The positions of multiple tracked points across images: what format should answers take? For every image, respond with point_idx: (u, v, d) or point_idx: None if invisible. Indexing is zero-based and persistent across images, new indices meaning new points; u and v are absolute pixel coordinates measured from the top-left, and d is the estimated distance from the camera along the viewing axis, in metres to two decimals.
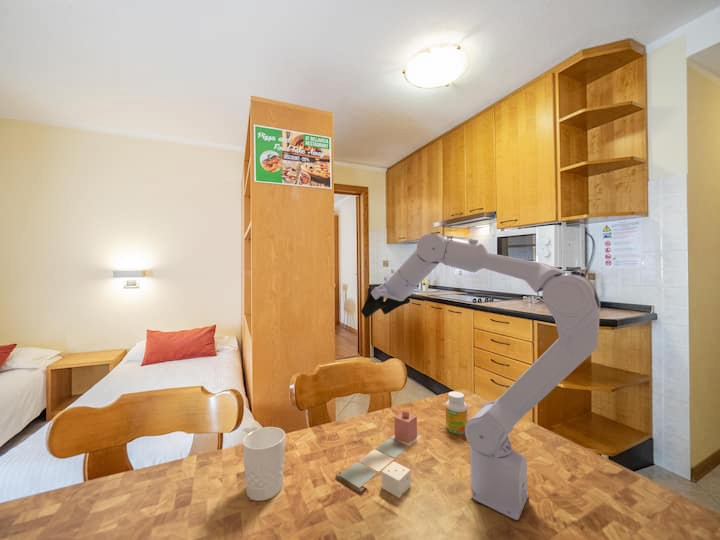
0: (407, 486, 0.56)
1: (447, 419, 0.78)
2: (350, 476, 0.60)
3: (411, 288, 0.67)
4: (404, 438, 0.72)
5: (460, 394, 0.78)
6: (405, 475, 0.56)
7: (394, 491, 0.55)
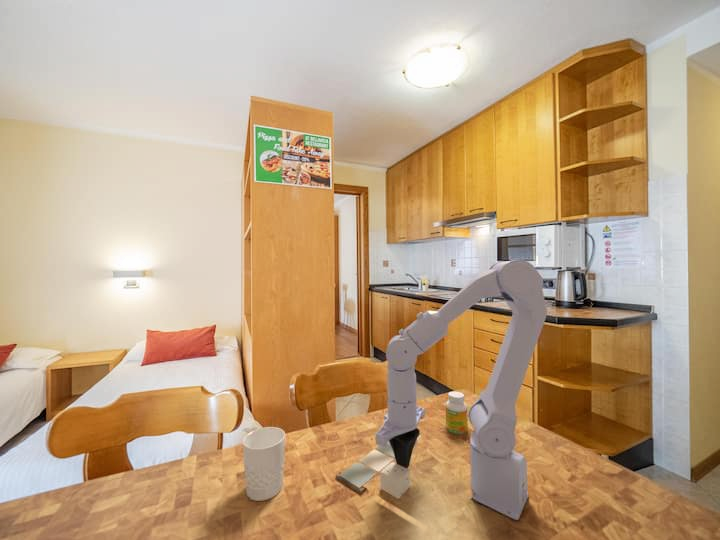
0: (406, 486, 0.56)
1: (447, 419, 0.78)
2: (350, 476, 0.60)
3: (412, 407, 0.57)
4: None
5: (460, 394, 0.78)
6: (404, 475, 0.56)
7: (393, 492, 0.55)
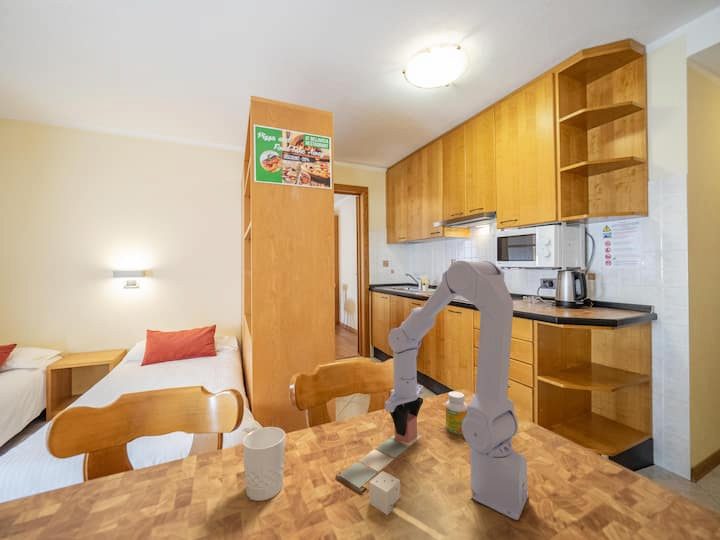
0: (396, 497, 0.54)
1: (447, 419, 0.78)
2: (350, 476, 0.60)
3: (413, 382, 0.72)
4: (404, 438, 0.72)
5: (460, 394, 0.78)
6: (394, 486, 0.53)
7: (382, 503, 0.52)
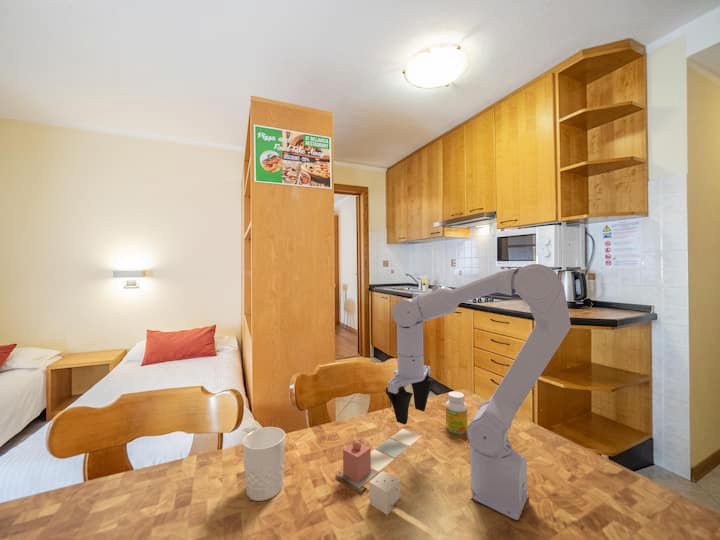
0: (396, 497, 0.54)
1: (447, 419, 0.78)
2: None
3: (420, 360, 0.63)
4: (353, 476, 0.59)
5: (460, 394, 0.78)
6: (394, 486, 0.53)
7: (382, 503, 0.52)
